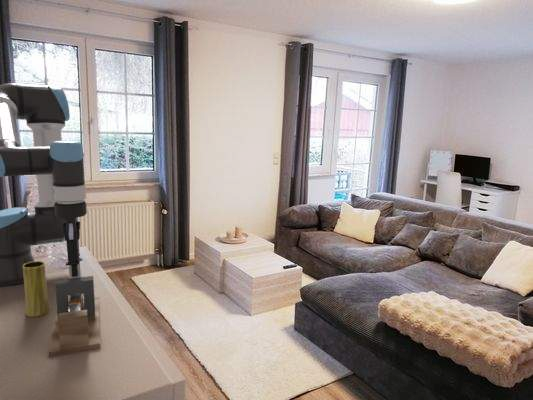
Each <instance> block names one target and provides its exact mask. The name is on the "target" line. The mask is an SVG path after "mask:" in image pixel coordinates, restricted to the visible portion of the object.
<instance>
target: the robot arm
mask: <svg viewBox="0 0 533 400" xmlns="http://www.w3.org/2000/svg"><path fill="white" fill-rule="evenodd" d="M67 98H68V97H67V95H66V93H65V91H64V90H63V88H62V87H60V86H56V85H49V84H34V83H31V84H29V83H16V82H7V83H3V84H0V178H3V177H14V176H15V177H16V176H36V182H37V193H38V201H37V202H36V204H35V205H34V210H33V211H29V210H28V208H27V207H23V206H21V207H18V206H17V207H11V208H5V209H2V210H1V209H0V287H6V286H7V287H8V286H14V285H20V284H24V277H23V267H22V266H23V265H24V264H25V263H28V262H33V261H36V260H35V258H34V256H33V254H32V246H39V245H47V244H53V243H63V242H66V251H67V261H68V262H65V266H67V267H68V274H69V277H68V278H69V279H70V278H79V277H82V273H81V269H82V268H81V262H82V261H83V257H81V253H80V241H79V240H80V236H81V233H80V230H81V220H79V218H82V217H85V216H86V215H87V212H88V211H87V210H88V209H87V202H86V199H87V192H86V182H85V166H84V165H85V162H84V161H85V160H84V158H85V153H84V148H83V144H82V142H80V141H78V140H77V141H76V140H63V138H62V130H63V128H64V127H66V122H67V121H69V120H70V119H71V118H70V115H71V114H70V108H69V107H70V106H69V103H68V102H69V101H68V99H67ZM17 120H21V121H22V120H24V121H26V126H27V127H28V128H29V129H31V130H32V136H33V137H32V138H33V139H32V140H33V146H21V145H22V144H21V143H22V142H21V139H20V134H19V129H18V123H17Z"/></svg>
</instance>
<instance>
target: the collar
mask: <svg viewBox="0 0 533 400" xmlns="http://www.w3.org/2000/svg"><path fill="white" fill-rule="evenodd" d="M54 285H55V286H54V287H55V299H56V300H55V301H56V309H57V315H58V317H59V313H66V312H68V310H69V305H68V301H69V297H70V295H76V294H83V299H84V303H82V310H87V316H89V315H95V299H94V298H95V284H94V275H89V276H81V277H79V278H70V277H69V278H62V279H56V280H55V283H54Z"/></svg>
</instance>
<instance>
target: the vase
mask: <svg viewBox="0 0 533 400" xmlns="http://www.w3.org/2000/svg"><path fill="white" fill-rule="evenodd" d="M45 264H46V263H45V262H44V261H40V260H35V261H33V262H28V263H25V264H24V265H23V266H22V267H23V277H24V283H23V284H24V285H23V287H24V289H23V290H24V304H25V311H24V314H25V316H26V317H29V318H30V317H31V318H36V317H41V316H43V315H45V314H48V313H49V312H50V309H51V307H50V301H49V295H48V284H47V278H46V277H47V276H46V275H47V274H46V266H45Z"/></svg>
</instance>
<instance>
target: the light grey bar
mask: <svg viewBox="0 0 533 400" xmlns="http://www.w3.org/2000/svg"><path fill="white" fill-rule="evenodd" d="M68 301H69V310H68V312H73V311H80V310H82V294H76V295H69V299H68Z"/></svg>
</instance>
